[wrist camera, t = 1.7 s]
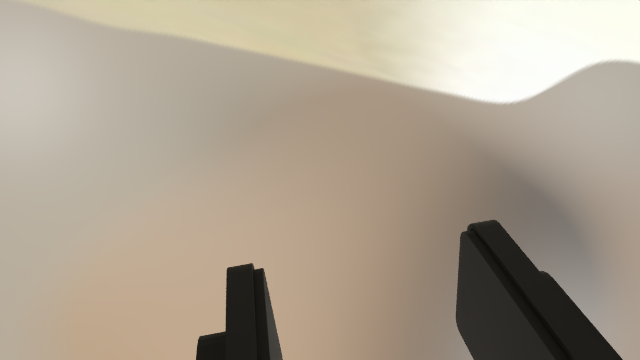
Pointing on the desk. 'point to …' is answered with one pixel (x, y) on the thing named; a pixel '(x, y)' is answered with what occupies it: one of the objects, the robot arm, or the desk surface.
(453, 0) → the desk surface
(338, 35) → the desk surface
